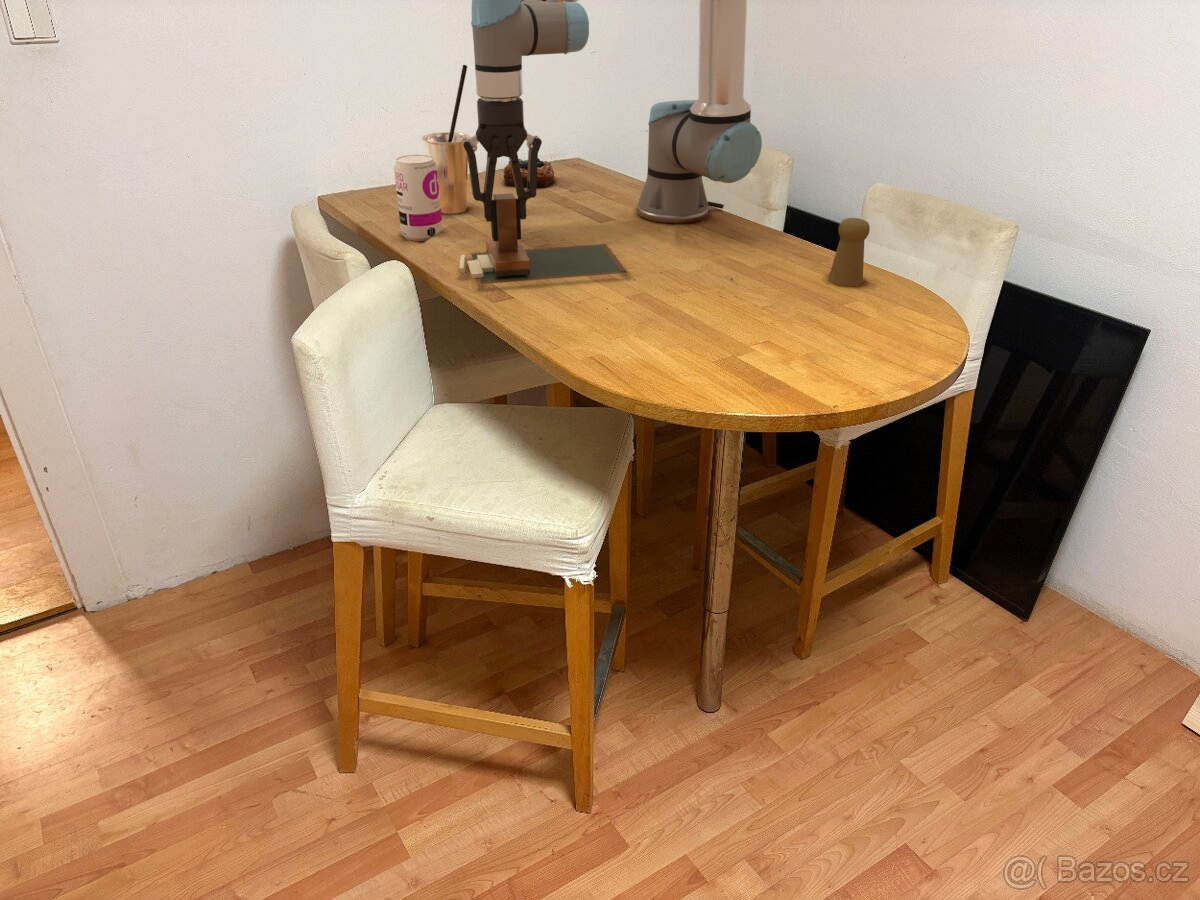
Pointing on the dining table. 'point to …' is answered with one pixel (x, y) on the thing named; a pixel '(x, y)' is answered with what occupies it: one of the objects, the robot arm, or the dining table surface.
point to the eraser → (507, 240)
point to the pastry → (543, 174)
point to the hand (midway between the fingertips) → (506, 237)
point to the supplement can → (418, 197)
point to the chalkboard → (562, 263)
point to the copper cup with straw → (450, 161)
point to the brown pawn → (850, 253)
